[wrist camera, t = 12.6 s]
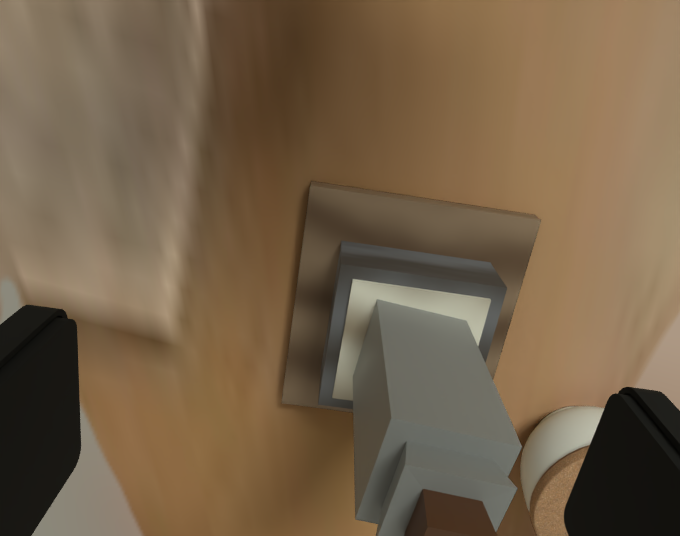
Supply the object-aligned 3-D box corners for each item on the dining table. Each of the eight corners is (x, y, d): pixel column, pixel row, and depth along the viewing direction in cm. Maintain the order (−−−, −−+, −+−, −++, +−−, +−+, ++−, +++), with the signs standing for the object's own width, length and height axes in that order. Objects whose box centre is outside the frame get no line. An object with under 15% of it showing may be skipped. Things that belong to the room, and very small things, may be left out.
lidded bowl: (614, 494, 54) (676, 598, 44) (490, 482, 54) (523, 583, 44) (657, 388, 50) (738, 477, 39) (521, 373, 49) (567, 459, 39)
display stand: (311, 181, 43) (305, 204, 36) (535, 214, 44) (566, 243, 37) (283, 393, 50) (274, 443, 44) (474, 418, 51) (492, 470, 45)
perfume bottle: (466, 320, 40) (554, 519, 23) (437, 396, 42) (497, 625, 25) (377, 299, 39) (399, 487, 22) (352, 376, 42) (356, 598, 25)
